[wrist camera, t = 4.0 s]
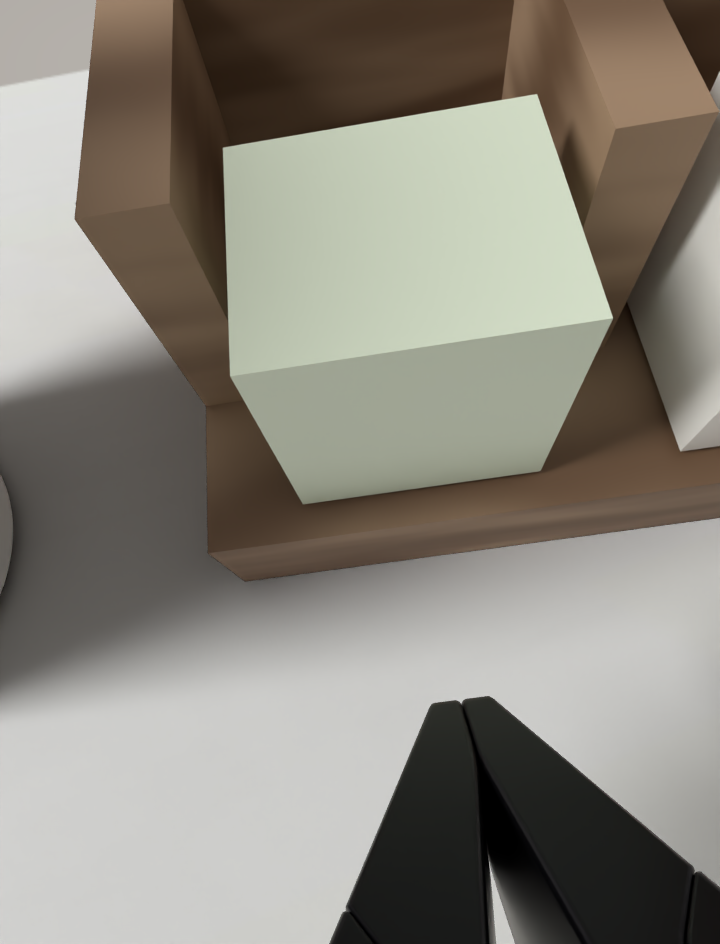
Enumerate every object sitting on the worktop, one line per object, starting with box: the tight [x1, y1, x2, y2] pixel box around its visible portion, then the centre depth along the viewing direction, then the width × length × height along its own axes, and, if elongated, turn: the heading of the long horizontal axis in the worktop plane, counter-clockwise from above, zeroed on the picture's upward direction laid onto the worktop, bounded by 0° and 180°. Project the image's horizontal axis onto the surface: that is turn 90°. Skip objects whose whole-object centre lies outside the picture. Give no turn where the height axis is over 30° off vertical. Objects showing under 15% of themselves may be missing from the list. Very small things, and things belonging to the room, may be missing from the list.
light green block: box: [223, 94, 613, 504], centre depth 15 cm, size 6×7×7 cm
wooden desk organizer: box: [75, 0, 720, 582], centre depth 18 cm, size 15×24×13 cm, turn 96°
